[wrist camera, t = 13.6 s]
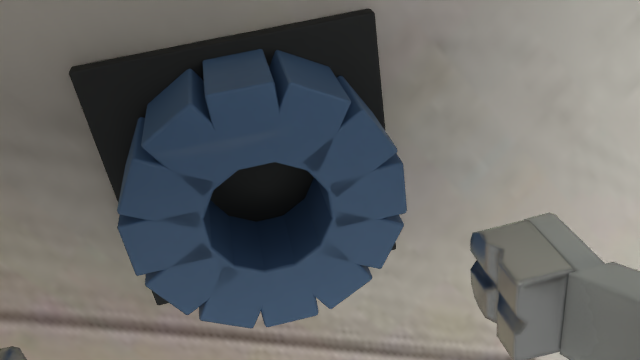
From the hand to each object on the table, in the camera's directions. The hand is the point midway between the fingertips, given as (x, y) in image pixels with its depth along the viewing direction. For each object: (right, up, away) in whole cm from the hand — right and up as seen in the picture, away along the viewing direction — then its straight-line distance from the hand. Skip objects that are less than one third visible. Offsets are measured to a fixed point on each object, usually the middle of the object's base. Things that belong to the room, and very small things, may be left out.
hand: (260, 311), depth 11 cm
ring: (-1, +3, +5) cm, 5 cm away
